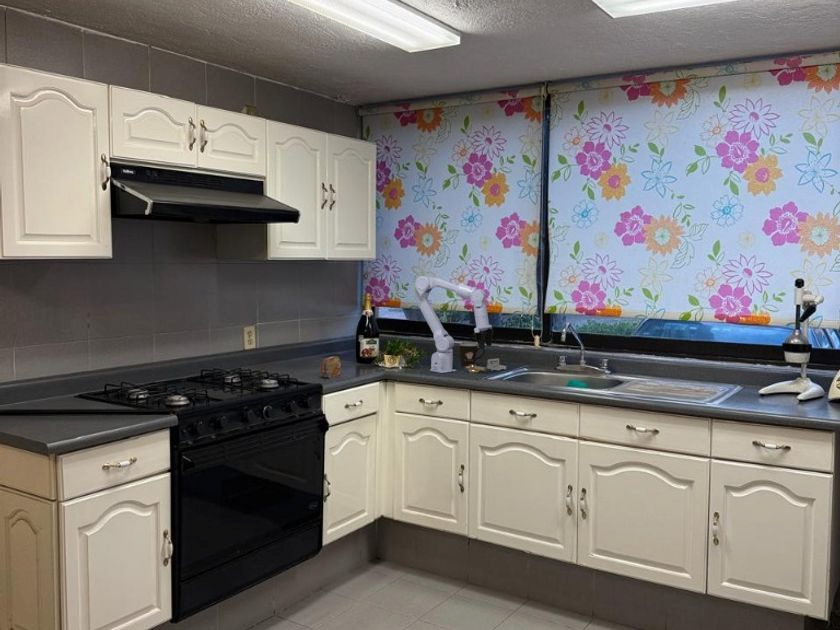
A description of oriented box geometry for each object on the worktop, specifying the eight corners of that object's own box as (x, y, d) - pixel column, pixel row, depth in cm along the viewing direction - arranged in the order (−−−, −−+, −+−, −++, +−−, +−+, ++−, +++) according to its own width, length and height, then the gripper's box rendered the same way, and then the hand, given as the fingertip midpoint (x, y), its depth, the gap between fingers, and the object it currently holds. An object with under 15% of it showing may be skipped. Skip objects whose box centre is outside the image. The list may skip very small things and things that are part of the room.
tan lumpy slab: (326, 379, 312) (326, 359, 311) (319, 379, 313) (320, 358, 312) (342, 374, 326) (342, 355, 326) (335, 374, 327) (335, 354, 327)
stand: (494, 370, 343) (495, 360, 343) (486, 369, 347) (486, 359, 346) (506, 369, 349) (506, 359, 348) (497, 367, 352) (498, 358, 352)
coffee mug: (456, 366, 354) (457, 345, 353) (461, 364, 362) (461, 343, 361) (481, 368, 351) (481, 346, 350) (484, 365, 359) (485, 344, 358)
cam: (464, 371, 339) (464, 364, 339) (473, 370, 343) (474, 363, 343) (483, 374, 331) (483, 367, 331) (492, 373, 335) (492, 366, 335)
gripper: (483, 317, 324) (487, 348, 325) (496, 314, 337) (500, 344, 338) (468, 318, 328) (472, 349, 328) (481, 315, 341) (485, 345, 341)
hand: (485, 347), depth 333 cm, fingers open, 7 cm apart
